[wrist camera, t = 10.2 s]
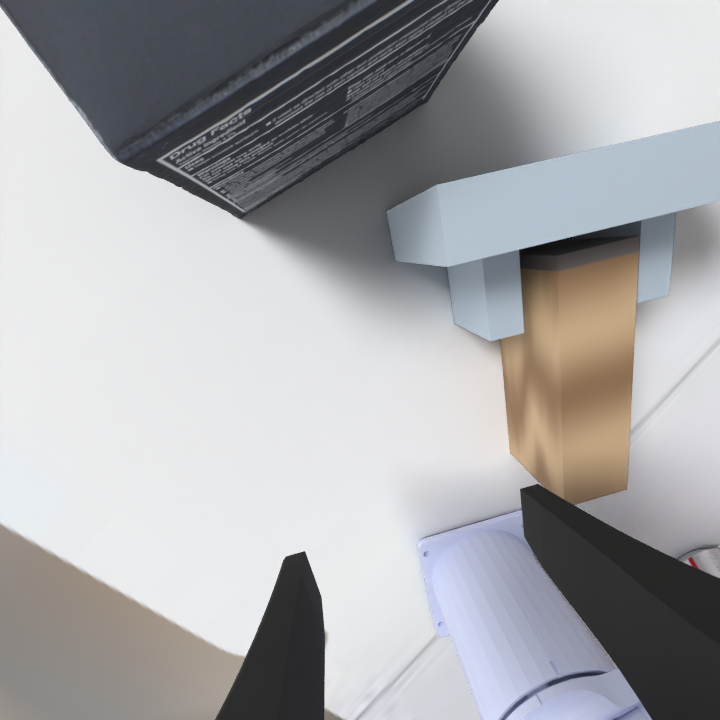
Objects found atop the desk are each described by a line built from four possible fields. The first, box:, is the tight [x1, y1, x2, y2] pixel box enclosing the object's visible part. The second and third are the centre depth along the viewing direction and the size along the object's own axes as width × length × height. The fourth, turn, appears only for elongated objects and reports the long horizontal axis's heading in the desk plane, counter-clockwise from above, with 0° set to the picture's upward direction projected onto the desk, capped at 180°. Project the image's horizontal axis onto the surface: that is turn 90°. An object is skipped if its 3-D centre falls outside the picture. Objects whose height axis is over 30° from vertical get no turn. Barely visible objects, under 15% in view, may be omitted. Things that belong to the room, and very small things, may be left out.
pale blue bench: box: [386, 121, 720, 342], centre depth 15 cm, size 6×14×7 cm, turn 103°
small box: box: [0, 0, 499, 218], centre depth 10 cm, size 11×6×10 cm, turn 120°
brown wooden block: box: [500, 236, 639, 505], centre depth 18 cm, size 13×4×5 cm, turn 12°
